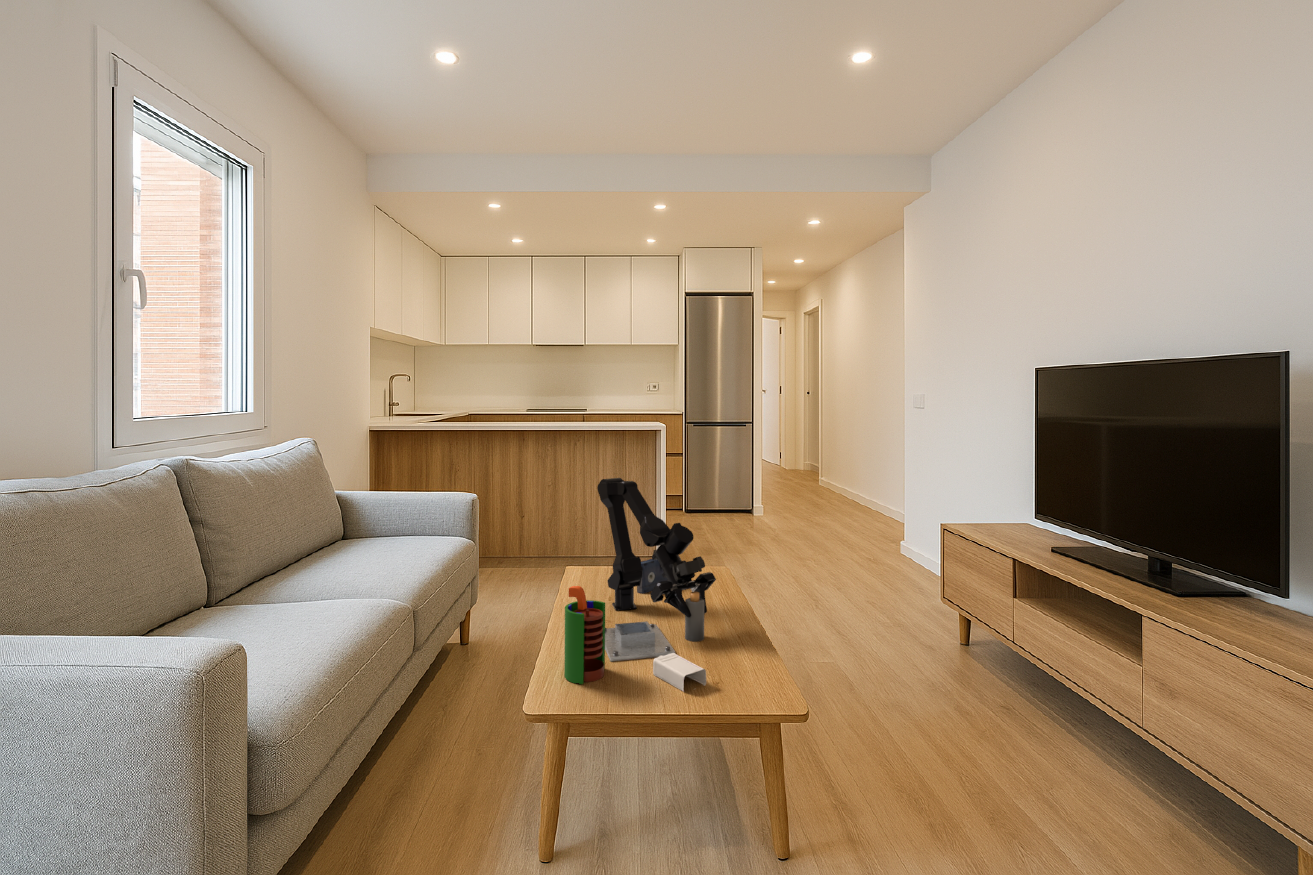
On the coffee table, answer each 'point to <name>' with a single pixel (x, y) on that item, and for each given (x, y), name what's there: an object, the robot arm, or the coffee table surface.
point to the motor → (584, 638)
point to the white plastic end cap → (677, 670)
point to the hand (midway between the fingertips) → (698, 614)
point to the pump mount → (635, 641)
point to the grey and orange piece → (695, 618)
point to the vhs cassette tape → (650, 575)
